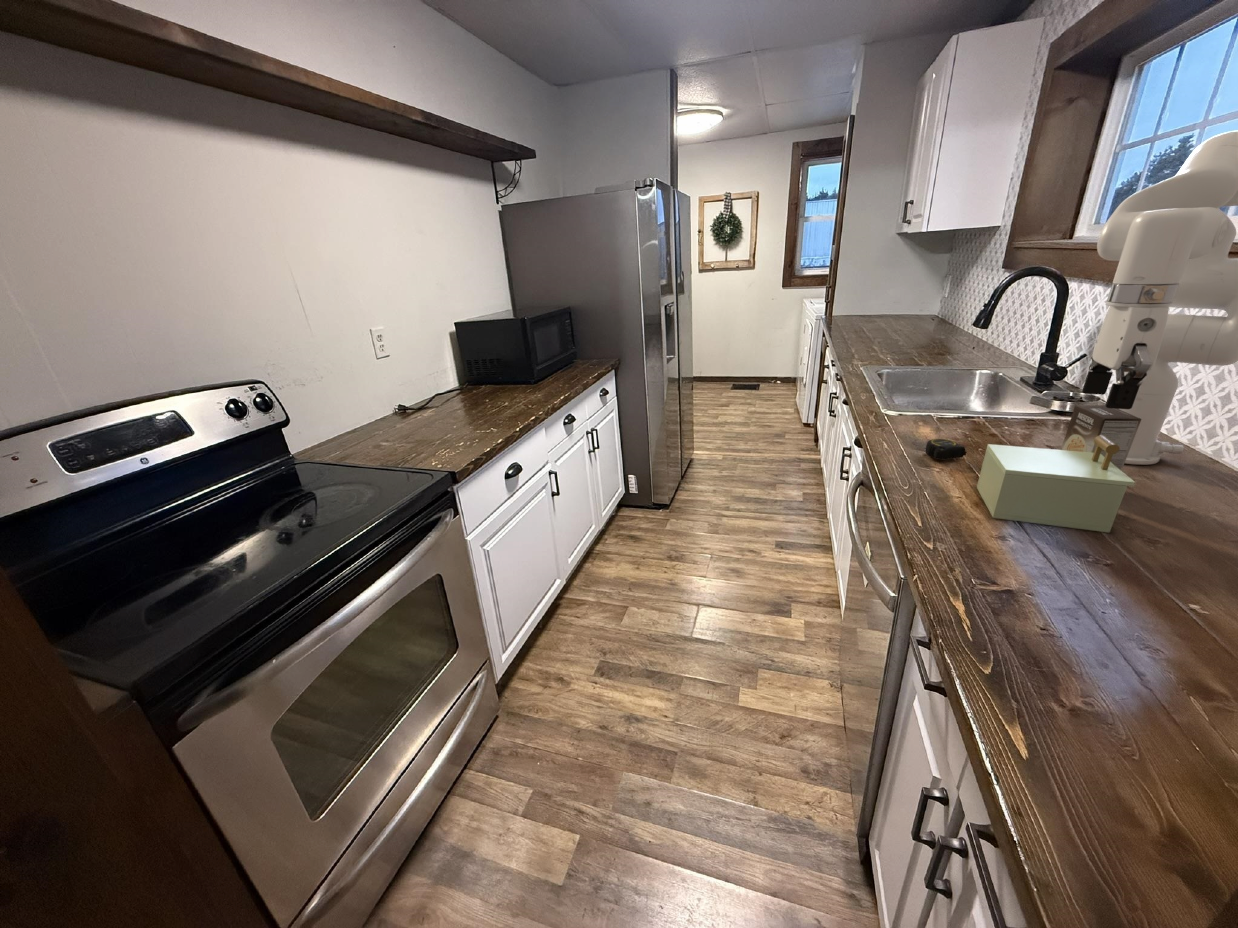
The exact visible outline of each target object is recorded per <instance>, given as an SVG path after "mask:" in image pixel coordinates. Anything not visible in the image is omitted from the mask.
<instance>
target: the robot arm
mask: <svg viewBox="0 0 1238 928" xmlns="http://www.w3.org/2000/svg"><path fill="white" fill-rule="evenodd" d="M1222 207H1238V129H1237V130H1231V131H1227V132H1223V133H1220V134H1217V135H1214V136H1212V137H1210V138H1208V139H1206V140H1205V141H1203V142H1201V144H1199V145H1198V146H1197V147H1196V148H1194V150H1193V151H1192V152H1191V153H1190V154H1189V156H1188V158H1186V160H1185V161H1184V163H1183V164H1182V166H1181V167H1180V169H1179V170H1178V171H1177V173H1175V175H1174V176H1171V177H1169V178H1167V179H1164V180H1162V181H1160V182H1157V183H1155V184H1152V185H1150V186H1148V187H1146V188H1143V189H1141V190H1139V191H1136V192H1134V193H1133V194H1132V195H1129V196H1128V197H1127V198H1125V199H1124V200H1123V201H1122V202H1121V203H1120V204H1119V205H1118V206H1117V207H1116V208H1115V210H1114V211H1113V213H1112V214H1111V215H1110V216H1109V218H1108V219H1107V221H1106V222H1105V224H1104V226H1103V228H1102V229H1101V231H1100V233H1099V236H1098V239H1097V243H1096V251H1097V254H1098V256H1099V257H1100V258H1102V259H1103V260H1106V261H1110V262H1118V265H1117V267H1116V271H1115V274H1114V277H1113V281H1112V284H1111V286H1110V289H1109V293H1108V296H1107V299H1106V302H1105V306H1108V307H1109V308H1108V310H1107V311H1106V314H1105V317H1104V320H1103V321H1102V324H1101V326H1100V329H1099V332H1098V334H1097V338H1096V340H1095V344H1094V347H1093V350H1092V354H1091V357H1090V359H1091V363H1090V364H1089V366H1088V371H1087V374H1086V377H1085V381H1084V384H1083V386H1082V389H1081V393H1082V394H1084V395H1099V396H1101V395H1106V394H1107V391H1108V388H1109V385H1110V383H1111V380H1112V377H1113V373H1114V372H1112V370H1113V371H1115V383H1114V382H1113V383H1112V384H1111V386H1110V390H1109V393H1108V396H1107V398H1106V400H1105V401H1106V402H1105V404H1104V405H1105V406H1106V407H1107V408H1114V409H1120V410H1122V411H1124V412H1127V413H1129V414H1131V415H1133V416H1136V417H1138V418H1140V419H1142V420H1141V422H1140V424H1139V427H1138V430H1137V432H1136V435H1135V437H1134V440H1133V442H1132V445H1131V448H1130V450H1129V453H1128V455H1127V458H1126V460H1125V463H1124V465H1125V464H1126V465H1138V466H1140V465H1141V466H1148V465H1155V464H1157V463H1159V462H1160V459H1161V456H1160V455H1159V454H1164V453H1169V454H1177V455H1181V454H1183V453H1184V451H1185V446H1184V445H1183V444H1170V442H1169V441H1160V440H1159V439H1158V438H1159V437H1160V433H1161V430H1162V428H1163V425H1164V423H1165V420H1166V417H1167V415H1168V413H1169V410H1170V407H1171V405H1172V402H1173V400H1174V397H1175V395H1176V392H1177V390H1178V387H1179V378H1178V376H1177V375H1176V373H1175V371H1174V370H1173V369H1172V367H1171V365H1170V364H1169V363H1180V364H1182V363H1183V364H1192V365H1193V364H1194V365H1201V366H1202V365H1205V366H1216V367H1217V366H1219V367H1221V366H1222V367H1223V366H1230V365H1234V364H1237V362H1238V258H1237V257H1232V258H1231V257H1229V253H1230V250H1231V248H1232V246H1233V243H1234V241H1235V239H1236V236H1237V229H1236V226H1235V225H1234V223H1233V221H1232V220H1231V218H1229V216H1228V215H1227V214H1226V213H1225V212H1224V211H1223V210H1221V209H1220V208H1222ZM1170 308H1175V309H1176V308H1177V309H1199V310H1201V309H1202V310H1221V311H1224V312H1226V314H1227V315H1226V316H1224V315H1222V316H1221V315H1198V314H1197V315H1196V314H1177V313H1169V310H1170Z"/></svg>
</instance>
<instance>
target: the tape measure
mask: <svg viewBox="0 0 1238 928" xmlns="http://www.w3.org/2000/svg"><path fill="white" fill-rule="evenodd" d="M924 453H925V454H926V455H927V456H928V457H931V458H933V459H936V460H943V461H946V460H952V459H960V458H963V457H964V456H967V451H966V447H965V446H963V445H961V444H958V443H957V442H956V441H953V440H950V439H946V438H932V439H929V440H928V441H927V442H926V446H925V451H924Z"/></svg>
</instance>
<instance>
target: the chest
mask: <svg viewBox="0 0 1238 928" xmlns="http://www.w3.org/2000/svg"><path fill="white" fill-rule="evenodd" d="M976 489H977V491H978V493H979V495H980V497H981V498H982V500H983V502H984V504H985V506H986V508H987V510H988V512H989V513H990V515H991V517H992V518H993V519H998V520H1008V521H1016V522H1022V523H1030V524H1038V525H1044V526H1045V525H1046V526H1047V525H1048V526H1053V527H1054V526H1055V527H1060V528H1061V527H1062V528H1070V529H1077V530H1085V531H1094V532H1101V533H1107V534H1108V533H1111V530H1112V527H1113V525H1114V523H1115V520H1116V517H1117V514H1118V511H1119V509H1120V507H1121V504H1122V501H1123V499H1124V497H1125V493H1126V491H1127V489H1128V486H1124V485H1114V484H1104V483H1094V482H1084V481H1073V480H1063V479H1053V478H1043V477H1033V476H1022V475H1012V474H1005V473H1004V472H1003V470H1002V469H1001V467H1000V466H999V464H998V463H997V461H996V460H995V459H994V457H993V456H992V454H991V453H990V451H989V450H988V448H987V447H986V450H985V453H984V457H983V461H982V465H981V469H980V473H979V477H978V481H977V484H976Z"/></svg>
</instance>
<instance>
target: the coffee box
mask: <svg viewBox="0 0 1238 928" xmlns="http://www.w3.org/2000/svg"><path fill="white" fill-rule="evenodd" d="M1141 420H1142V419H1140V418H1138V417H1136V416H1133V415H1131V414H1129V413H1127V412H1124V411H1122V410H1120V409H1114V408H1107V407H1106V406H1105V404H1098V405H1097V404H1096V405H1094V404H1086V405H1085V404H1084V405H1083V404H1082V405H1081V404H1080V405H1079V404H1078V405H1076V404H1075V405H1074V408H1073V411H1072V414H1071V417H1070V420H1069V423H1068V425H1067V428H1066V429H1067V430H1066V432H1065V436H1064V438H1063V442H1062V445H1061V447H1060V450H1067V451H1080V452H1092V453H1094V451H1095V448H1096V444H1095V443H1094V439H1095V437H1097V436H1100V435H1103V436H1106V437H1107V438H1108V439H1110V440H1111V441H1112V442H1114V443H1115V444H1116V445H1118V446H1119V448H1120V450H1119V451H1118V452H1117V453H1116V454H1113V456H1112V458H1111V461H1110V462H1111V463H1112V464H1114V465H1115V466H1116V467H1117V468H1119V469H1120V470H1121V471H1122V472H1123V468H1124V465H1125V460H1126V458H1127V455H1128V453H1129V450H1130V448H1131V445H1132V442H1133V440H1134V437H1135V435H1136V432H1137V430H1138V427H1139V424H1140V422H1141ZM1100 454H1101V455H1103V456H1104V457H1105V455H1106V452H1105V451H1104V450H1103V449H1102V450H1101V453H1100Z"/></svg>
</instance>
